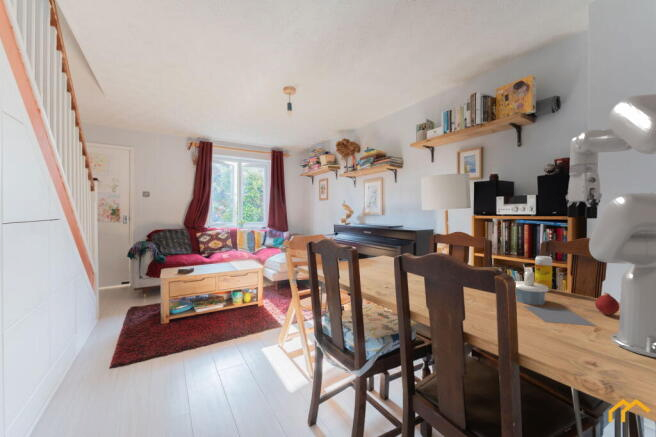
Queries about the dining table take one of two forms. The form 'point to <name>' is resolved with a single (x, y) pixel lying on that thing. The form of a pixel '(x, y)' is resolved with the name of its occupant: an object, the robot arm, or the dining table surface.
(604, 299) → the red rounded piece
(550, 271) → the yellow bottle
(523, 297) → the bowl
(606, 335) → the dining table surface
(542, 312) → the mat
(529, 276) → the lid
